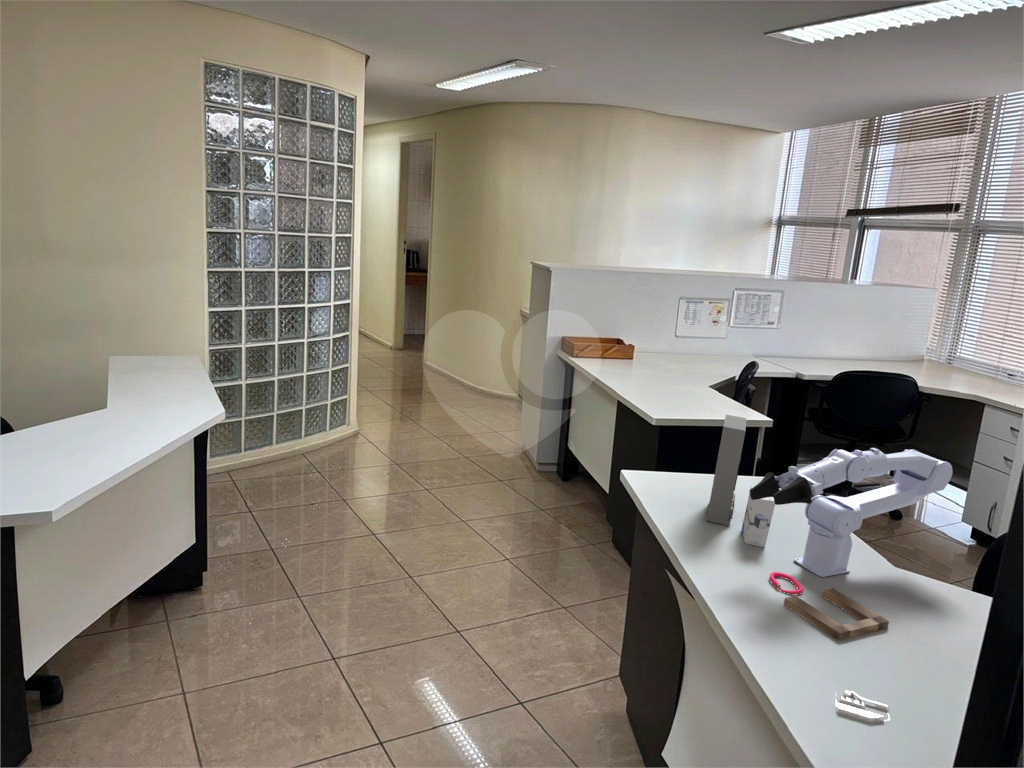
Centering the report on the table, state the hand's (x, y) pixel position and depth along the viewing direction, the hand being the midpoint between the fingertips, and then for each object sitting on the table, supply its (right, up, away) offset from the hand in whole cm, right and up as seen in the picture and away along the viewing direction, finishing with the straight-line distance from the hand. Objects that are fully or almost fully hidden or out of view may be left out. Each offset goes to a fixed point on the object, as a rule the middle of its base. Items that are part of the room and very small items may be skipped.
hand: (762, 497), depth 151 cm
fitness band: (+5, -19, +2) cm, 20 cm away
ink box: (+6, -14, +24) cm, 28 cm away
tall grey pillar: (+1, -10, +37) cm, 38 cm away
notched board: (+11, -22, -9) cm, 26 cm away
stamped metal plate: (+3, -28, -37) cm, 46 cm away
